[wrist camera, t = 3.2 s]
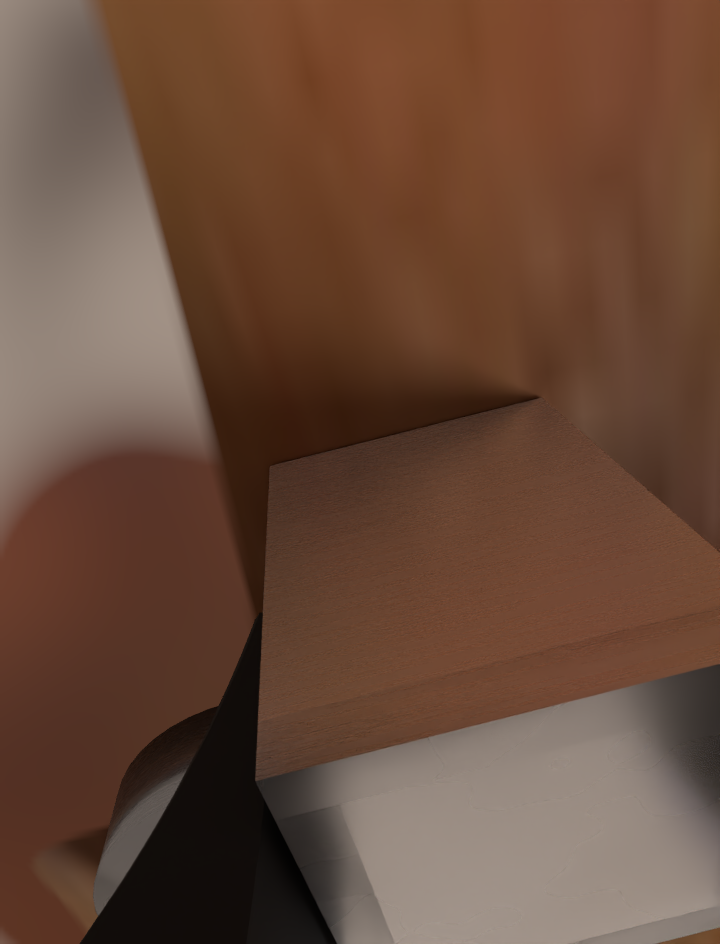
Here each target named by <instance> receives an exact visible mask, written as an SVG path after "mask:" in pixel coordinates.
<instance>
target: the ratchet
mask: <svg viewBox="0 0 720 944" xmlns="http://www.w3.org/2000/svg"><path fill="white" fill-rule="evenodd" d="M217 709H218V706H217V707H214V708H210V709H207V710H205V711H203V712H200V713H198V714H195V715H193V716H191V717H188V718H187V719H185V720H183V721H181V722H179V723H177V724H176V725H174V726H172V727H170V728H169V729H167V730H166V731H165V732H163V733H162V734H160V735H159V736H157V737H156V738H155V739H153V740H152V741H151V742H150V743H149V744H148V745H147V746H146V747H145V748H144V749H143V750H142V751H141V752H140V753H139V754H138V755H137V757H136V758H135V759H134V760H133V762H132V763H131V764H130V766H129V768H128V769H127V771H126V773H125V775H124V777H123V779H122V782H121V785H120V789H119V792H118V795H117V799H116V803H115V807H114V810H113V814H112V818H111V822H110V825H109V829H108V833H107V837H106V841H105V844H104V848H103V852H102V856H101V859H100V863H99V867H98V871H97V874H96V878H95V882H94V893H93V899H94V904H95V910H96V912H97V915H98V916H99V914H100V913H101V911H102V910H103V908H104V907H105V905H106V904H107V902H108V901H109V899H110V898H111V896H112V895H113V893H114V892H115V890H116V889H117V887H118V886H119V884H120V883H121V881H122V880H123V878H124V877H125V875H126V874H127V872H128V870H129V869H130V867H131V866H132V864H133V862H134V861H135V859H136V858H137V856H138V854H139V853H140V851H141V849H142V848H143V846H144V845H145V843H146V841H147V840H148V838H149V836H150V835H151V833H152V831H153V830H154V828H155V826H156V825H157V823H158V821H159V820H160V818H161V816H162V814H163V813H164V811H165V809H166V807H167V806H168V804H169V802H170V800H171V799H172V797H173V795H174V793H175V791H176V790H177V788H178V786H179V784H180V782H181V780H182V778H183V776H184V774H185V772H186V770H187V769H188V767H189V765H190V763H191V761H192V759H193V757H194V755H195V753H196V751H197V750H198V748H199V746H200V744H201V742H202V740H203V738H204V736H205V734H206V732H207V730H208V728H209V726H210V724H211V721H212V719H213V717H214V715H215V713H216V711H217Z"/></svg>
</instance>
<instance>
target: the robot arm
mask: <svg viewBox="0 0 720 944" xmlns="http://www.w3.org/2000/svg"><path fill="white" fill-rule="evenodd" d="M262 623H263V612H262V613H259V615H258V616H257V618H256V619H255V621H254V624H253V627H252V629H251V632H250V634H249V637H248V639H247V642H246V644H245V647H244V649H243V652H242V654H241V657H240V659H239V661H238V664H237V666H236V669H235V671H234V673H233V676H232V678H231V680H230V682H229V685H228V687H227V689H226V691H225V694H224V696H223V698H222V700H221V702H220V704H219V706H218V709H217V711H216V713H215V715H214V717H213V719H212V721H211V724H210V726H209V728H208V730H207V732H206V734H205V736H204V738H203V740H202V742H201V744H200V746H199V748H198V750H197V751H196V753H195V755H194V757H193V759H192V761H191V763H190V765H189V767H188V769H187V770H186V772H185V774H184V776H183V778H182V780H181V782H180V784H179V786H178V788H177V790H176V791H175V793H174V795H173V797H172V799H171V800H170V802H169V804H168V806H167V807H166V809H165V811H164V813H163V814H162V816H161V818H160V820H159V821H158V823H157V825H156V826H155V828H154V830H153V831H152V833H151V835H150V836H149V838H148V840H147V841H146V843H145V845H144V846H143V848H142V849H141V851H140V853H139V854H138V856H137V858H136V859H135V861H134V862H133V864H132V866H131V867H130V869H129V870H128V872H127V874H126V875H125V877H124V878H123V880H122V881H121V883H120V884H119V886H118V887H117V889H116V890H115V892H114V893H113V895H112V896H111V898H110V899H109V901H108V902H107V904H106V905H105V907H104V908H103V910H102V911H101V913H100V914H99V916H98V917H97V919H96V920H95V922H94V923H93V925H92V926H91V928H90V929H89V931H88V932H87V934H86V935H85V937H84V938H83V940H82V941H81V942H80V944H337V942H336V940H335V938H334V936H333V934H332V932H331V930H330V929H329V927H328V925H327V923H326V921H325V919H324V917H323V915H322V913H321V911H320V909H319V907H318V905H317V903H316V901H315V899H314V897H313V895H312V893H311V891H310V889H309V887H308V885H307V883H306V881H305V879H304V877H303V875H302V873H301V871H300V869H299V867H298V865H297V863H296V861H295V859H294V857H293V855H292V853H291V851H290V849H289V847H288V845H287V843H286V841H285V839H284V837H283V835H282V833H281V831H280V829H279V827H278V825H277V823H276V821H275V819H274V817H273V815H272V813H271V811H270V809H269V807H268V805H267V803H266V801H265V799H264V797H263V795H262V793H261V791H260V790H259V788H258V786H257V784H256V782H255V776H256V754H257V732H258V711H259V689H260V667H261V645H262Z"/></svg>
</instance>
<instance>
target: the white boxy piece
mask: <svg viewBox="0 0 720 944" xmlns="http://www.w3.org/2000/svg"><path fill="white" fill-rule="evenodd" d="M255 782H256V784H257V786H258V788H259V790H260V791H261V793H262V795H263V797H264V799H265V801H266V803H267V805H268V807H269V809H270V811H271V813H272V815H273V817H274V819H275V821H276V823H277V825H278V827H279V829H280V831H281V833H282V835H283V837H284V839H285V841H286V843H287V845H288V847H289V849H290V851H291V853H292V855H293V857H294V859H295V861H296V863H297V865H298V867H299V869H300V871H301V873H302V875H303V877H304V879H305V881H306V883H307V885H308V887H309V889H310V891H311V893H312V895H313V897H314V899H315V901H316V903H317V905H318V907H319V909H320V911H321V913H322V915H323V917H324V919H325V921H326V923H327V925H328V927H329V929H330V930H331V932H332V934H333V936H334V938H335V940H336V942H337V944H656V943H660V942H664V941H668V940H672V939H676V938H680V937H684V936H688V935H692V934H696V933H699V932H703V931H707V930H711V929H715V928H719V927H720V553H719V552H718V551H717V550H716V549H715V548H714V547H713V546H711V545H710V544H709V543H708V542H707V541H706V540H704V539H703V538H702V537H701V536H700V535H699V534H698V533H696V532H695V531H694V530H693V529H692V528H691V527H690V526H688V525H687V524H686V523H685V522H684V521H683V520H682V519H680V518H679V517H678V516H677V515H676V514H675V513H674V512H672V511H671V510H670V509H669V508H668V507H667V506H666V505H664V504H663V503H662V502H661V501H660V500H659V499H658V498H656V497H655V496H654V495H653V494H652V493H651V492H650V491H648V490H647V489H646V488H645V487H644V486H643V485H641V484H640V483H639V482H638V481H637V480H636V479H635V478H633V477H632V476H631V475H630V474H629V473H628V472H627V471H625V470H624V469H623V468H622V467H621V466H620V465H619V464H617V463H616V462H615V461H614V460H613V459H612V458H611V457H609V456H608V455H607V454H606V453H605V452H604V451H603V450H601V449H600V448H599V447H598V446H597V445H596V444H595V443H593V442H592V441H591V440H590V439H589V438H588V437H587V436H585V435H584V434H583V433H582V432H581V431H580V430H578V429H577V428H576V427H575V426H574V425H573V424H572V423H570V422H569V421H568V420H567V419H566V418H565V417H564V416H562V415H561V414H560V413H559V412H558V411H557V410H556V409H554V408H553V407H552V406H551V405H550V404H549V403H548V402H546V401H545V400H544V399H543V398H538V399H534V400H530V401H526V402H522V403H518V404H514V405H510V406H506V407H502V408H498V409H494V410H490V411H486V412H482V413H478V414H474V415H470V416H466V417H462V418H459V419H455V420H451V421H447V422H443V423H439V424H435V425H431V426H427V427H423V428H419V429H415V430H411V431H407V432H403V433H399V434H395V435H391V436H387V437H383V438H379V439H375V440H371V441H367V442H363V443H359V444H355V445H351V446H347V447H343V448H339V449H335V450H331V451H327V452H323V453H319V454H315V455H311V456H307V457H303V458H299V459H296V460H292V461H288V462H284V463H280V464H276V465H272V466H270V471H269V492H268V514H267V536H266V558H265V580H264V601H263V623H262V645H261V667H260V689H259V711H258V732H257V754H256V776H255Z"/></svg>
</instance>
